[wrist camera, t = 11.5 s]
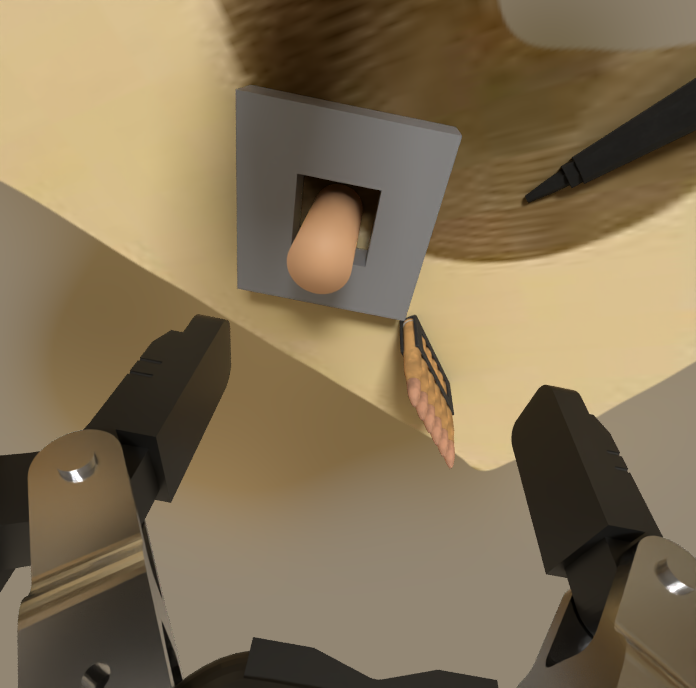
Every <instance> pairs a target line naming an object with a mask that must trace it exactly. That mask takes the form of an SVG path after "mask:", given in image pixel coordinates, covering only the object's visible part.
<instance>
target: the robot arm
mask: <svg viewBox="0 0 696 688" xmlns="http://www.w3.org/2000/svg"><path fill="white" fill-rule="evenodd" d="M230 349H231V348H230V323H229V321H228V320H225V319H220V318H215V317H210V316H204V315H200V314H198V315H196V316H194V318H193V319H192V320H191V322H190V323H189V325H188V326H187V328H186V329H185V330H184V332H178V331H173V330H171V331H169V332H167V333H166V334H164V335H163V336H161V337H159V338H158V339H156V340H154V341H153V342H152V343H151V344H150V346H149V347H148V348H147V349H146V351H145V352H144V353H143V355H142V356H141V357H140V361H137V362H136V364H135V365H134V366H133V367H132V369H131V370H130V374H127V375H126V376H125V378H124V379H123V380H122V382H121V383H120V384H119V385H118V387H117V388H116V389H115V391H114V392H113V393H112V395H111V396H110V397H109V399H108V400H107V401H106V402H105V404H104V405H103V406H102V407H101V409H100V410H99V411H98V413H97V414H96V415H95V416H94V418H93V419H92V421H91V422H90V423H89V424H88V425H87V426H86V428H84V429H83V430H80V431H75V432H72V433H69V434H66V435H63V436H62V437H59V438H57V439H56V440H54V441H52V442H51V443H49V444H48V445H47V446H45V447H44V448H43V449H42V450H41V451H39V452H33V453H23V454H12V455H1V456H0V592H1V590H2V589H3V587H4V585H5V584H6V582H7V581H8V579H9V578H10V576H11V575H12V573H13V571H14V570H15V568H19V567H24V566H31V581H32V582H31V590H30V593H29V595H28V596H26V597H25V598H24V599H23V600H22V602H21V604H20V608H19V614H18V630H17V632H18V688H498V683H497V680H493V679H486V678H482V677H475V676H470V675H465V674H459V673H453V672H448V671H442V670H434V671H428V672H423V673H417V674H411V675H406V676H400V677H394V678H389V679H382V680H376V679H372V678H369V677H368V676H366V675H364V674H362V673H360V672H358V671H356V670H354V669H353V668H351V667H349V666H347V665H345V664H343V663H341V662H339V661H338V660H336V659H334V658H332V657H330V656H328V655H326V654H324V653H323V652H321V651H319V650H317V649H315V648H311V647H306V646H300V645H295V644H289V643H283V642H278V641H272V640H266V639H261V638H255V637H253V640H252V644H251V649H250V651H246V652H240V653H235V654H232V655H229V656H226V657H223V658H220V659H218V660H215V661H213V662H211V663H209V664H207V665H205V666H203V667H202V668H200V669H198V670H197V671H195V672H194V673H192V674H190V675H189V676H187V677H186V678H185V679H184V677H183V673H182V669H181V665H180V660H179V656H178V652H177V648H176V644H175V640H174V635H173V632H172V628H171V624H170V620H169V617H168V613H167V610H166V606H165V602H164V598H163V593H162V589H161V585H160V580H159V576H158V572H157V568H156V563H155V559H154V555H153V551H152V546H151V542H150V538H149V534H148V529H147V525H146V521H145V518H146V516H147V514H148V512H149V510H150V508H151V506H152V504H153V502H154V500H160V501H165V502H170V503H171V501H172V499H173V497H174V495H175V493H176V491H177V489H178V487H179V485H180V483H181V480H182V478H183V476H184V474H185V472H186V470H187V468H188V466H189V463H190V462H191V460H192V457H193V455H194V453H195V451H196V449H197V447H198V445H199V443H200V441H201V439H202V436H203V434H204V432H205V430H206V428H207V426H208V424H209V422H210V420H211V418H212V416H213V413H214V411H215V409H216V407H217V405H218V403H219V401H220V399H221V397H222V395H223V392H224V390H225V388H226V386H227V383H228V379H229V375H230V368H231V350H230ZM512 447H513V451H514V454H515V458H516V462H517V466H518V469H519V473H520V477H521V481H522V484H523V488H524V492H525V496H526V500H527V504H528V507H529V511H530V515H531V519H532V522H533V526H534V530H535V534H536V537H537V541H538V545H539V549H540V552H541V556H542V561H543V564H544V568H545V572H546V574H548V575H554V576H560V577H565V578H568V582H569V585H570V589H569V590H567V591H566V592H565V594H564V595H563V597H562V600H561V602H560V604H559V607H558V609H557V611H556V614H555V616H554V618H553V621H552V623H551V626H550V628H549V630H548V633H547V635H546V637H545V640H544V642H543V644H542V647H541V649H540V651H539V654H538V656H537V659H536V661H535V663H534V665H533V667H532V669H531V670H530V672H529V673H528V675H527V676H526V677H525V678H524V679H523V680H522V681H521V682H520V684H519V685H518V686H517V688H696V558H695V557H694V556H693V555H691V554H690V553H689V552H688V551H687V550H685V549H684V548H683V547H681V546H680V545H678V544H676V543H675V542H673V541H671V540H669V539H666V538H663V536H662V534H661V532H660V530H659V528H658V527H657V525H656V523H655V521H654V519H653V517H652V515H651V513H650V511H649V509H648V507H647V505H646V503H645V501H644V499H643V497H642V495H641V493H640V491H639V489H638V487H637V485H636V483H635V481H634V479H633V477H632V476H631V474H630V473H628V472H627V470H628V468H627V466H626V464H625V462H624V460H623V458H622V457H621V456H619V453H620V452H619V450H618V448H617V446H616V444H615V442H614V440H613V438H612V436H611V434H610V433H609V432H608V431H607V429H606V428H605V427H604V426H603V425H602V424H601V423H600V422H599V421H598V420H597V418H596V417H595V416H594V415H591V414H589V412H588V410H587V408H586V406H585V404H584V402H583V400H582V398H581V396H580V394H579V393H578V392H577V391H574V390H570V389H565V388H560V387H555V386H550V385H543V386H541V387H540V388H539V389H538V390H537V392H536V393H535V394H534V396H533V397H532V399H531V400H530V402H529V403H528V405H527V406H526V407H525V409H524V410H523V412H522V413H521V415H520V416H519V417H518V419H517V420H516V422H515V424H514V426H513V430H512Z"/></svg>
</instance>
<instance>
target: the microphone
mask: <svg viewBox="0 0 696 688" xmlns="http://www.w3.org/2000/svg"><path fill="white" fill-rule="evenodd" d="M695 130H696V78H695V79H693V80H692V81H690V82H689V83H687V84H686V85H684V86H682V87H681V88H679V89H678V90H676V91H675V92H673V93H672V94H670V95H668V96H667V97H665V98H664V99H662V100H661V101H659V102H658V103H656V104H654V105H653V106H651V107H650V108H648V109H647V110H645V111H644V112H642V113H640V114H639V115H637V116H636V117H634V118H633V119H631V120H629V121H628V122H626V123H625V124H623V125H622V126H620V127H619V128H617V129H615V130H614V131H612V132H611V133H609V134H608V135H606V136H605V137H603V138H601V139H600V140H598V141H597V142H595V143H594V144H592V145H591V146H589V147H587V148H586V149H584V150H583V151H581V152H580V153H578V154H577V155H575V156H573V157H572V159H573V160H571V161H569V162H568V163H566V164H564V165H563V166H561V167H562V170H561V171H559V172H558V173H556V174H555V175H553V176H552V177H550V178H548V179H547V180H546V181H544V182H543V183H542V184H540V185H539V186H538V187H536V188H535V189H534V190H532V191H531V192H530V193H528V194H527V195H526V196H525V198H526V200H527V202H528V203H529V202H532V201H534V200H537V199H539V198H542V197H544V196H547V195H549V194H552V193H554V192H556V191H558V190H561V189H563V188H565V187H567V186H569V185H570V186H571V188H573V187H575V186H577V185H578V184H580V183H582V182H583V183H584V184H585V183H587V182H589V181H591V180H593V179H595V178H597V177H600V176H602V175H604V174H606V173H608V172H610V171H612V170H614V169H616V168H618V167H620V166H622V165H624V164H627V163H629V162H631V161H633V160H635V159H637V158H639V157H641V156H643V155H645V154H647V153H649V152H651V151H654V150H656V149H658V148H660V147H662V146H664V145H666V144H668V143H670V142H672V141H674V140H676V139H678V138H681V137H683V136H685V135H687V134H689V133H691V132H693V131H695Z"/></svg>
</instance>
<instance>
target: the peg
mask: <svg viewBox="0 0 696 688" xmlns="http://www.w3.org/2000/svg"><path fill="white" fill-rule="evenodd" d="M362 214H363V206H362V202H361V199H360V197H359V196H358V194H357V193H356V192H355V191H354V190H353V189H351V188H350V187H348V186H346V185H342V184H332V185H329V186H326V187H325V188H323V189H322V190H321V191H320V192H319V193H318V195H317V196H316V198H315V200H314V202H313V204H312V206H311V208H310V210H309V212H308V214H307V216H306V218H305V220H304V222H303V224H302V226H301V228H300V230H299V232H298V234H297V236H296V238H295V240H294V242H293V244H292V246H291V248H290V250H289V252H288V255H287V268H288V271H289V274H290V276H291V277H292V279H293V280H294V281H295V282H296V284H297V285H299V286H300V287H301V288H303V289H304V290H306V291H309V292H311V293H315V294H329V293H333V292H335V291H337V290H339V289H341V288H342V287H343V286H344V285H345V284H346V283H347V281H348V280H349V278H350V275H351V271H352V266H353V261H354V256H355V251H356V245H357V240H358V235H359V230H360V225H361V219H362Z"/></svg>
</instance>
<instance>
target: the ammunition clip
mask: <svg viewBox="0 0 696 688" xmlns="http://www.w3.org/2000/svg"><path fill="white" fill-rule="evenodd" d="M400 349H401V353H402V355H403V357H404V373H405V377H406V383H407V391H408V396H409V399H410V402H411V404H412V405H413V407H416V410H417V413H418V416H419V418H420V419H421V420H422V421H423V422H424V425H425V427H426V429H427V431H428V432H429V433H430V434H431V437H432V439H433V441H434V443H435V444H436V445H437V446H438V449H439V451H440V453H441V455H442V456H443V457H444V458H445V461H446V464H447V465H448V467H449V468H452V467H453V464H454V455H455V449H454V426H453V418H452V415H454V410H453V403H452V396H451V389H450V383H449V381H448V379H447V377H446V375H445V373H444V371H443V369H442V367H441V365H440V363H439V361H438V358H437V356H436V354H435V352H434V350H433V348H432V346H431V344H430V342H429V340H428V338H427V336H426V334H425V332H424V330H423V328H422V326H421V324H420V322H419V320H418V318H417V316H416V315H413V316H410V317H408V318H405V321H402V320H400Z"/></svg>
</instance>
